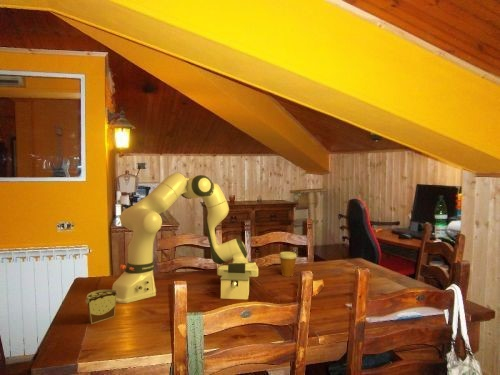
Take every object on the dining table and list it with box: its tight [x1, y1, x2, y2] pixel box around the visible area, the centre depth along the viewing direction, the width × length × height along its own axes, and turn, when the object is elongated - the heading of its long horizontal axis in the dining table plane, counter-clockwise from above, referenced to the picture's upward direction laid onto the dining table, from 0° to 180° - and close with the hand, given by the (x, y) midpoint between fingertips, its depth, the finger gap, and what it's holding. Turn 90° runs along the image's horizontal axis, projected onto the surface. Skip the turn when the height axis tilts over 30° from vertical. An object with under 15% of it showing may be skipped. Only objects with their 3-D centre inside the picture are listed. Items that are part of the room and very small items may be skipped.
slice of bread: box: [311, 279, 325, 297], centre depth 189 cm, size 18×18×4 cm
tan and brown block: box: [84, 289, 118, 325], centre depth 148 cm, size 12×6×10 cm, turn 141°
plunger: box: [227, 262, 245, 288], centre depth 176 cm, size 17×8×11 cm, turn 177°
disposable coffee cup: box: [279, 251, 297, 278], centre depth 212 cm, size 10×10×12 cm
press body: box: [220, 273, 250, 300], centre depth 177 cm, size 10×12×9 cm
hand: (236, 275), depth 184 cm, fingers closed, pressing on plunger
